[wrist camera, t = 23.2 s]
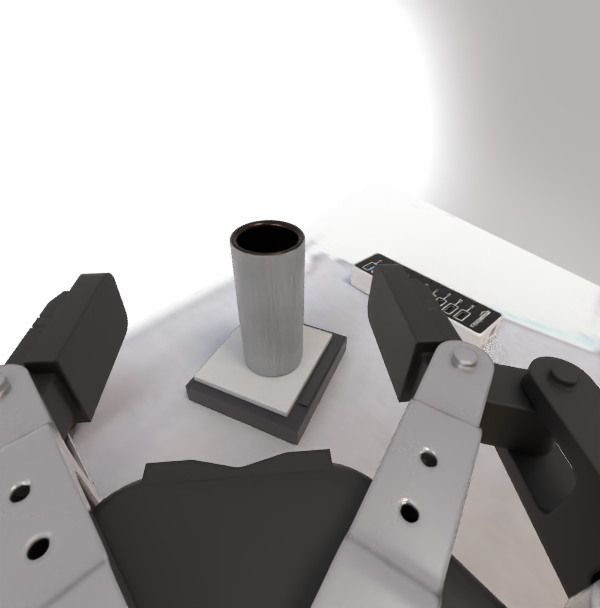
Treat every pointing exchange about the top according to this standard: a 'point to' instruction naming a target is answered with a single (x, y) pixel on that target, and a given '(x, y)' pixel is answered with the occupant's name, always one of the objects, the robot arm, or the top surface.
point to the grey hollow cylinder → (270, 294)
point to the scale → (269, 384)
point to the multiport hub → (440, 302)
